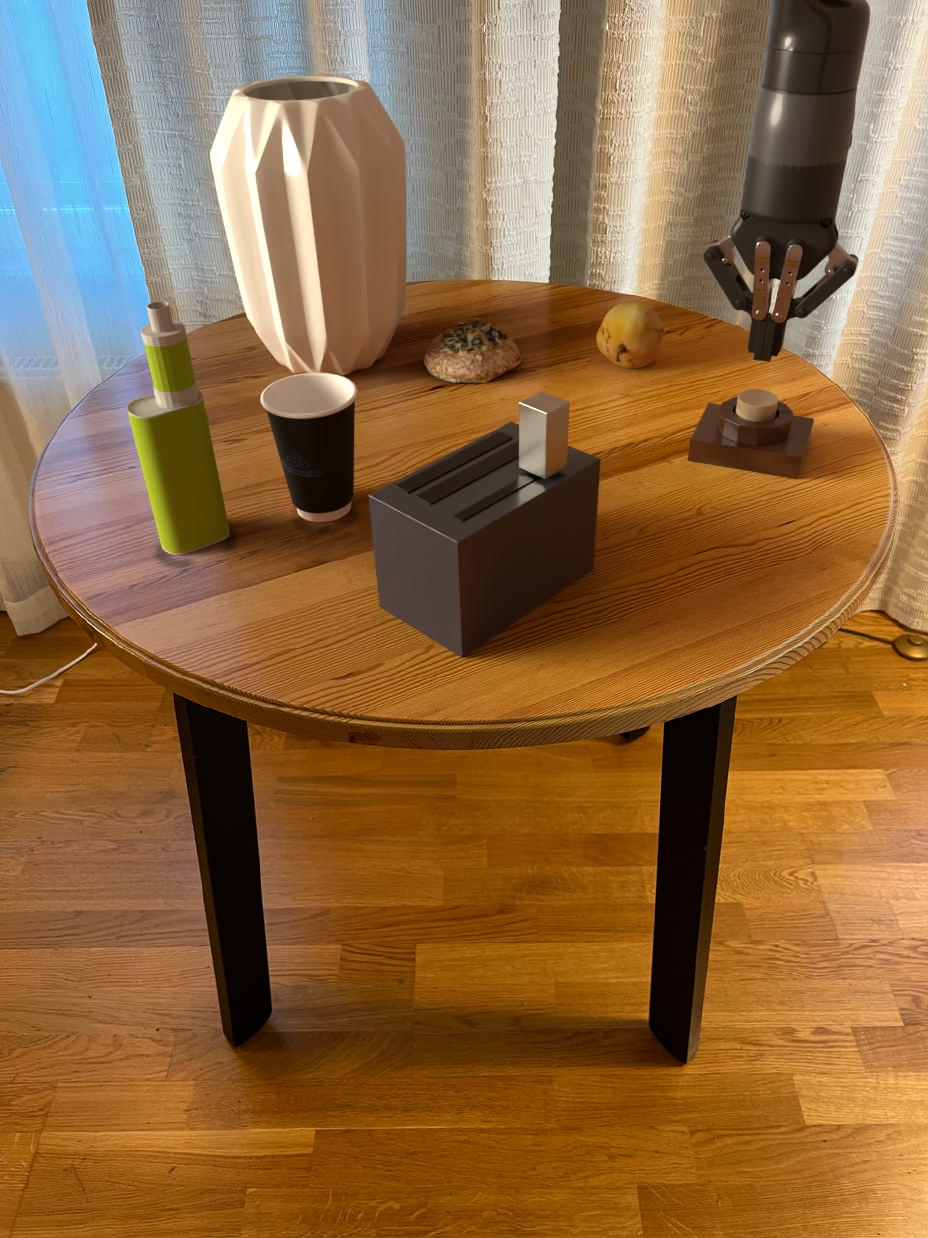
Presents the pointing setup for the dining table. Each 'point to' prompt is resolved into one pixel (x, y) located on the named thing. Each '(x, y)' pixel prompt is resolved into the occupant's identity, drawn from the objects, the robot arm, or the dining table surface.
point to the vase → (315, 218)
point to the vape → (177, 442)
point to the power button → (756, 405)
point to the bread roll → (471, 353)
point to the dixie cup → (315, 441)
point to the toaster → (482, 539)
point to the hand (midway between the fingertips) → (763, 357)
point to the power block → (751, 440)
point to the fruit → (630, 335)
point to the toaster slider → (543, 434)
